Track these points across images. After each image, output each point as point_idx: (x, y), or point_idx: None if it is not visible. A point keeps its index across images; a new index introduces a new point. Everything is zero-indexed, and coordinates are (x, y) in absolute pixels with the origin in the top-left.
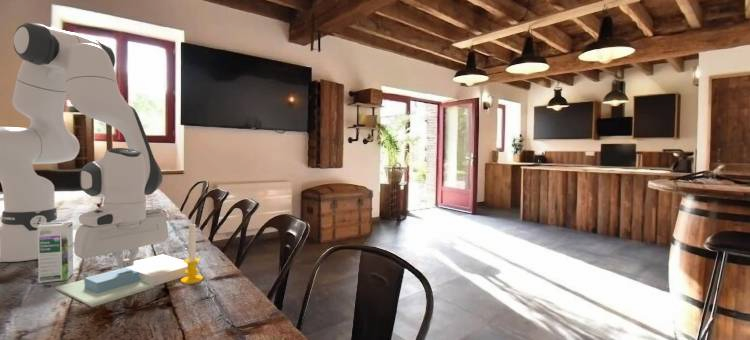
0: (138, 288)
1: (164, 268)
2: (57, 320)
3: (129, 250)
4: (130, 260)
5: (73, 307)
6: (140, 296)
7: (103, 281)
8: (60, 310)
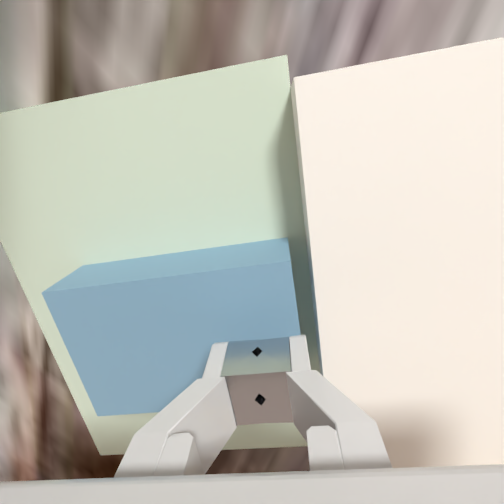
0: (267, 432)
1: (457, 408)
2: (19, 462)
3: (310, 456)
4: (288, 415)
5: (53, 409)
6: (250, 471)
7: (126, 413)
8: (18, 404)
